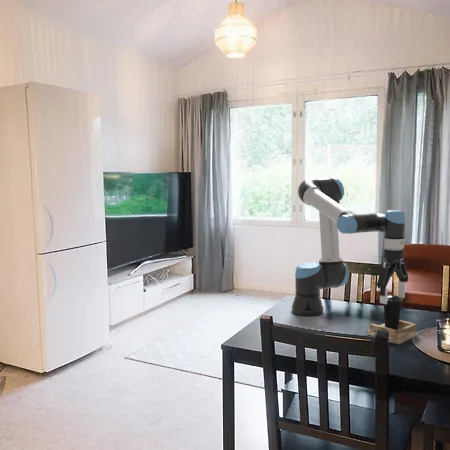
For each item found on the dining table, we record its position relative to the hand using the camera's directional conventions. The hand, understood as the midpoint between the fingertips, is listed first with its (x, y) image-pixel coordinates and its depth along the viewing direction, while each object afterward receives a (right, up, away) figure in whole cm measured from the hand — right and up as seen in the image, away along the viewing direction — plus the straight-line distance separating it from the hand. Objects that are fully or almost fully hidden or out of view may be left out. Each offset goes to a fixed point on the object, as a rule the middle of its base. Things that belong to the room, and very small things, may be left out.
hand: (392, 300), depth 184 cm
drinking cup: (0, -13, +2) cm, 13 cm away
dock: (0, -15, +2) cm, 15 cm away
